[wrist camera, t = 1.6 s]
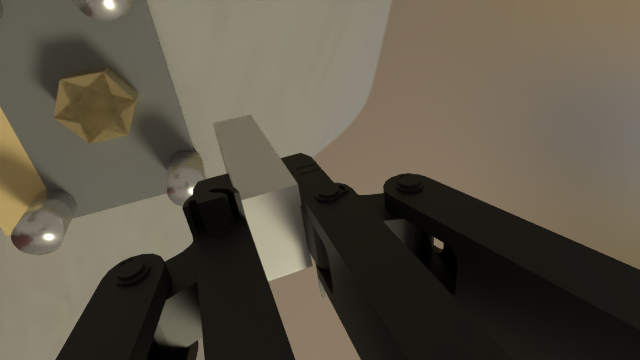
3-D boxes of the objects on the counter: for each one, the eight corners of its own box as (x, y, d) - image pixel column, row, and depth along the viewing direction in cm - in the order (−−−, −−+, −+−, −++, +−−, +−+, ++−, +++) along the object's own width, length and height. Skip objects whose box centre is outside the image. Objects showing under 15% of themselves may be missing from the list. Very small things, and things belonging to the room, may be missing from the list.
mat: (8, 233, 28) (6, 236, 28) (-155, -12, 20) (-160, -12, 20) (203, 181, 32) (203, 183, 32) (132, -44, 24) (131, -45, 24)
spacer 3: (173, 182, 31) (173, 211, 27) (162, 153, 30) (161, 178, 26) (206, 173, 32) (211, 200, 28) (197, 144, 31) (201, 167, 26)
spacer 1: (45, 222, 29) (24, 260, 25) (27, 192, 28) (2, 226, 24) (84, 212, 30) (69, 247, 26) (68, 182, 28) (50, 214, 24)
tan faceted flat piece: (76, 136, 27) (68, 148, 25) (48, 76, 25) (36, 84, 23) (149, 120, 28) (147, 130, 26) (127, 62, 26) (123, 68, 24)
